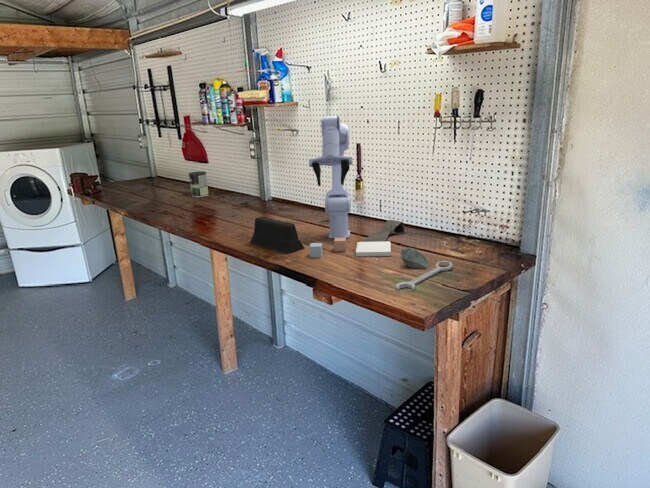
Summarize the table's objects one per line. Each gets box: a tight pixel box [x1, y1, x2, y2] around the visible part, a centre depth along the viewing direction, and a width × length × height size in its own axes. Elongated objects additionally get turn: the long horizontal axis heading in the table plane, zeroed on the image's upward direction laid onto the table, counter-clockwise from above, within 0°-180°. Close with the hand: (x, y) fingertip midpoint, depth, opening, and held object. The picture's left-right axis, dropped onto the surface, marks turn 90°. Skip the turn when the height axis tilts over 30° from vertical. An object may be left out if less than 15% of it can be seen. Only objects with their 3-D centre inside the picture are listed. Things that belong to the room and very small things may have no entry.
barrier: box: [249, 216, 306, 255], centre depth 179 cm, size 24×9×10 cm, turn 44°
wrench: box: [395, 260, 453, 292], centre depth 141 cm, size 26×6×2 cm, turn 135°
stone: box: [400, 247, 430, 270], centre depth 153 cm, size 11×4×10 cm
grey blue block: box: [308, 242, 324, 258], centre depth 166 cm, size 4×4×4 cm
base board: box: [355, 240, 392, 257], centre depth 168 cm, size 12×12×2 cm
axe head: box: [360, 219, 406, 242], centre depth 184 cm, size 21×5×10 cm
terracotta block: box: [333, 238, 347, 252], centre depth 171 cm, size 4×4×4 cm
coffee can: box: [188, 171, 210, 198], centre depth 288 cm, size 10×10×14 cm
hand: (330, 184), depth 156 cm, fingers open, 7 cm apart
